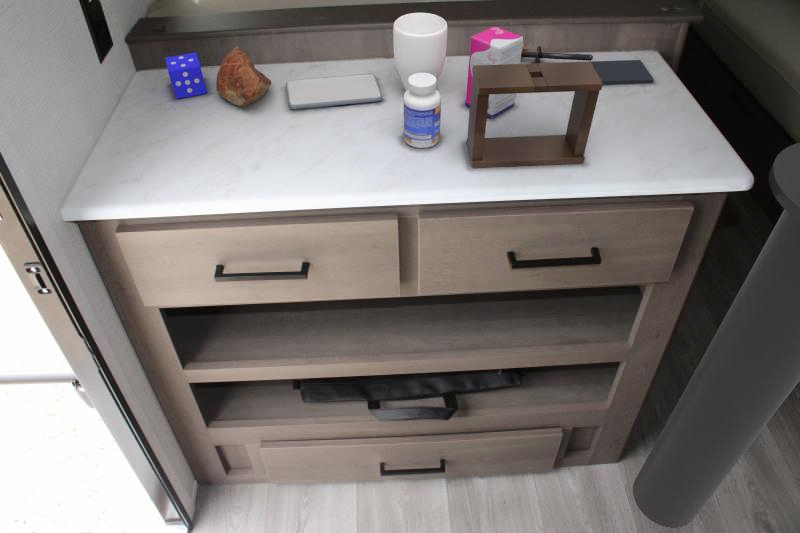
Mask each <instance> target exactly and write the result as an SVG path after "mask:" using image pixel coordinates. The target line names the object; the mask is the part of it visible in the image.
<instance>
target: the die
mask: <svg viewBox="0 0 800 533" xmlns="http://www.w3.org/2000/svg"><path fill="white" fill-rule="evenodd" d="M164 60H165V64H166V68H167V72H168V75H169V80H170V83H171V87H172V90H173V93H174V97H175V99H176V100H179V99H185V98H191V97H195V96H196V97H198V96H202V95H206V94H207V93H208V91H207V88H206V82H205V79H204V75H203V71H202V67H201V63H200V60H199V57H198V54H197V53H196V52H189V53H185V54H184V53H183V54H179V55H172V56H166V57H165V58H164Z"/></svg>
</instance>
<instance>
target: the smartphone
mask: <svg viewBox="0 0 800 533" xmlns="http://www.w3.org/2000/svg"><path fill="white" fill-rule="evenodd" d="M285 87H286V94H287V95H286V96H287V102H288V107H289V108H290V109H292V110H298V109H299V110H300V109H310V108H320V107H321V108H323V107H332V106H341V105H342V106H343V105H354V104H364V103H377V102H381V101H382V100H383V95H382V91H381V89H380V86H379V82H378V79H377V77H376V75H375V74H374V73H360V74H348V75H338V76H337V75H335V76H326V77H324V76H323V77H313V78H303V79H302V78H301V79H300V78H299V79H290V80H288V81H286V82H285Z"/></svg>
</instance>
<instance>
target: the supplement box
mask: <svg viewBox="0 0 800 533" xmlns="http://www.w3.org/2000/svg"><path fill="white" fill-rule="evenodd" d="M523 37H524V36H521V35H520V34H516V33H514V32H511V31H509V30H505V29H503V28H500V27H498V26H496V25H495V26H492V27H490V28H487V29H486V30H483V31H481V32H478V33H477V34H473V35H472V36H471V37H470V45H469V56H468V70H467V83H466V93H465V94H466V95H465V107H468V108H469V109H470V100H471V88H472V76H473V73H472V67H473V65H502V64H521V59H522V57H521V52H522V45H523ZM516 95H517V93H516V94H489V102H488V111H487V118H490V119H494V118H496V117H498V116H500V115H501V114H502V113H504V112H506V111H508V110H510V109H511V108H513V107H514V106H515V104H516V103H515V102H516Z"/></svg>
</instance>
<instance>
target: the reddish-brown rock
mask: <svg viewBox="0 0 800 533" xmlns="http://www.w3.org/2000/svg"><path fill="white" fill-rule="evenodd" d="M215 86H216V87H215V88H216V91H217V92H218V94H220V96H222V98H224V99H225V100H227V101H228V102H230V103H232V104H233V105H236V106H239V107H244V106H248V105H252V103H254V102H256V101H257V100H259V99H260V98H261V97H263V96H264V95H265V94H266V93H267V92H268V91H269V89H270V87H271V86H272V80H271V79H269V78H268V77H267V76H266V75H265V74H264V73H262V72H261V71H260V70H258V69H257V68H256V67H255V65H254V62H253V61H252V60H251V59H250V58H249V56H248V55H247V54H246V52H245V51H242V50H241V49H240V47H239V46H238V45H236V46H235V47H234V48H233V49H232V51H230V52H228V53H226V54H225V56H223V59H222V61H221V63H220V67H219V69H218V70H217V74H216V82H215Z"/></svg>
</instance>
